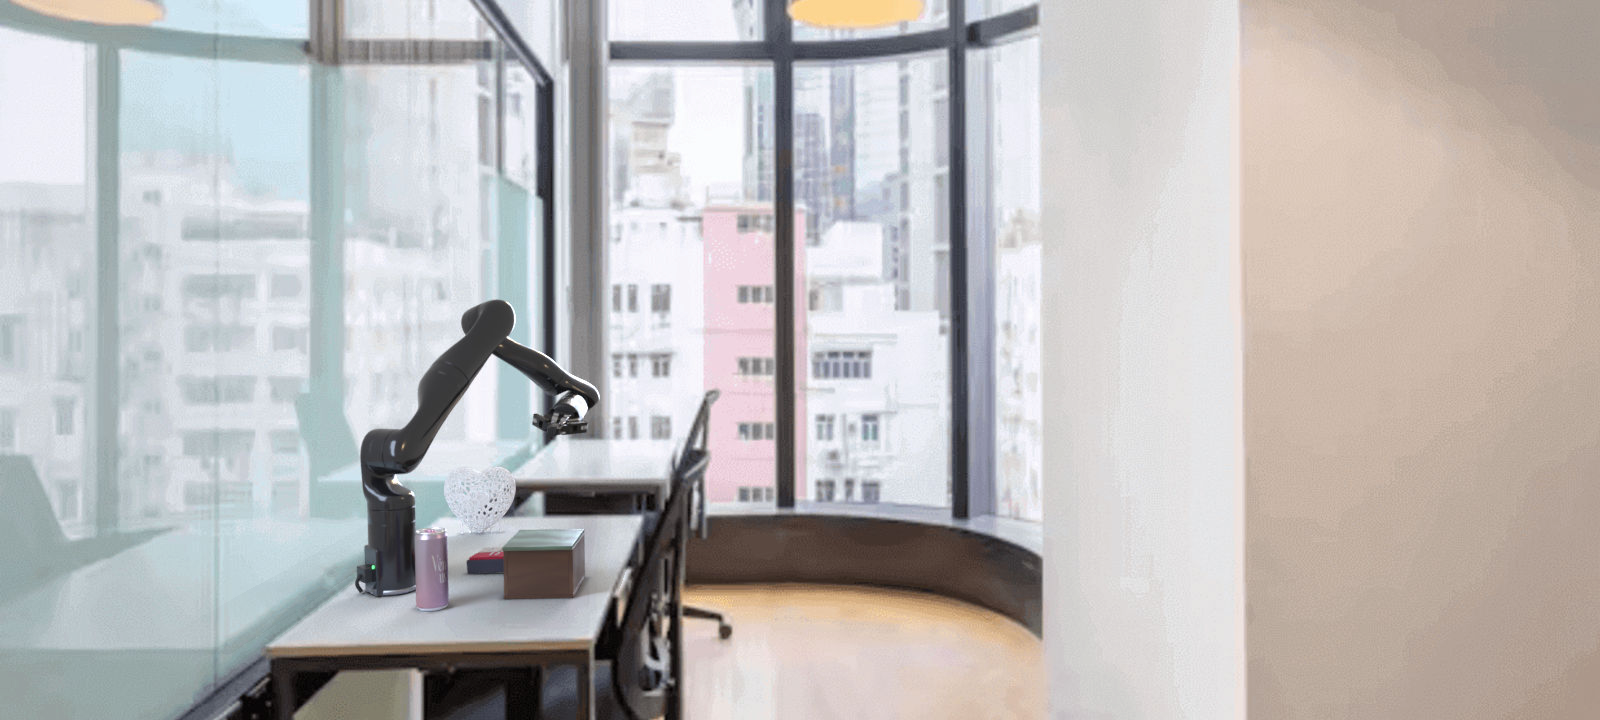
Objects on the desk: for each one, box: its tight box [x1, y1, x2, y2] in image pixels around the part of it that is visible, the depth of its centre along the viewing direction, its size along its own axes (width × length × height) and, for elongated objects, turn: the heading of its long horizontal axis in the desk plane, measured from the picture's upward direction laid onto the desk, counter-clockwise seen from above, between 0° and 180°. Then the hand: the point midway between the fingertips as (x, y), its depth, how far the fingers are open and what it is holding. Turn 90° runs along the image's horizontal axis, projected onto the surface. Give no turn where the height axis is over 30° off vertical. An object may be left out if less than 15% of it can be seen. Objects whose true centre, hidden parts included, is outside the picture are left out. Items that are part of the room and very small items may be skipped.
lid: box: [501, 528, 585, 551], centre depth 219 cm, size 16×14×1 cm
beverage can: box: [415, 527, 450, 612], centre depth 206 cm, size 6×6×15 cm
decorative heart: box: [443, 466, 517, 535], centre depth 275 cm, size 18×11×17 cm, turn 94°
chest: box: [503, 533, 586, 600], centre depth 220 cm, size 16×14×10 cm
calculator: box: [466, 546, 504, 575], centre depth 237 cm, size 11×4×15 cm
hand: (553, 431), depth 233 cm, fingers closed
